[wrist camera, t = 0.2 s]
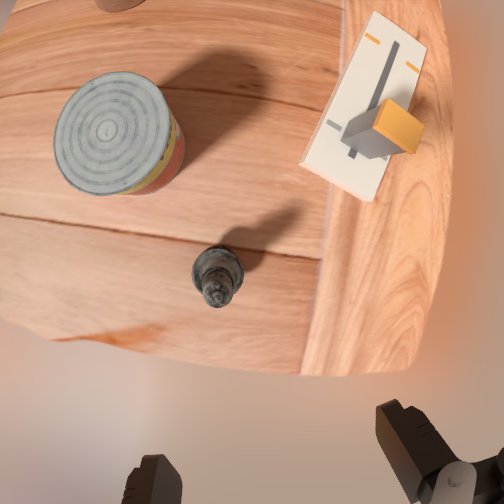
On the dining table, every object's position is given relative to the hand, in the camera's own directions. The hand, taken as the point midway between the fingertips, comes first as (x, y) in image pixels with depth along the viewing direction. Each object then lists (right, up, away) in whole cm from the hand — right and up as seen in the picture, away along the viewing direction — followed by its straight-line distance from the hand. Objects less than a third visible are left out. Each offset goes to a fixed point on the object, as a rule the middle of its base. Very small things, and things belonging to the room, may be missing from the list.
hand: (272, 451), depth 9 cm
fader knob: (+12, +21, +24) cm, 34 cm away
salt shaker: (-5, +5, +28) cm, 29 cm away
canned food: (-14, +20, +25) cm, 35 cm away
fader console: (+15, +28, +26) cm, 42 cm away
